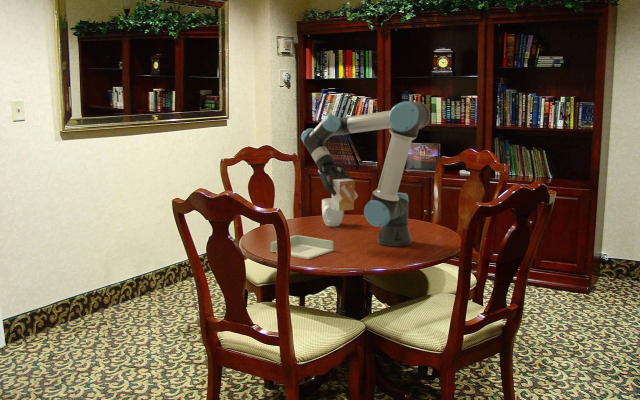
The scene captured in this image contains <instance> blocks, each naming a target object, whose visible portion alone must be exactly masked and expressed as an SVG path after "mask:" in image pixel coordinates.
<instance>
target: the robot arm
mask: <svg viewBox="0 0 640 400" xmlns="http://www.w3.org/2000/svg"><path fill="white" fill-rule="evenodd" d="M430 119H431V112H430V109H429V106H427V105H426V104H425V103H423V102H421V101H402V102H399V103H396V104H395V105H394V106H393V107H392V108H391V110H385V111H381V112H380V111H379V112H372V113H365V114H359V115H352V116H345V117H340V118H339V117H337V116H336V115H335V114H332V113H328V114H327V115H326V116H325V117H324V118H323V119H321V121H320V122H319V124H318V125H316V126H315V128H311V127H310V128H307V129H306V130H303V132H302V133H301V135H300V139H301V141H302V143H303V146H305V148H306V150H307V151H308V152H309V154H310V156H311V158H312V159H313V161H314V162H315V163H316V166H317V168H318V170H317V172H316V173H317V175H318V176H319V177H320V181H321V183H322V184H321V185H322V186H323V189H324V190H326V191H327V192H330V193H331V196H332V195H333V196H334V197H335V198H336V200H337V202H338V203H339V202H340V201H341V200H342V197H341V195H340V194H339V192H338V190H337V189H336V187H333V181H332V180H333V178H334V179H346V178H347V179H352V178H351V177H350V176H349V174H348V173H347V171H345V170H344V168H343V166H341V165H340V166H339V167H338V166H337V165H335V160H334V158H333V157H332V155H331V153H330V152H329V149H327V147H326V145H325V143H326V141H328V139H330V138H331V137H333V136H340V135H341V136H345V135H350V134H355V133H364V132H371V131H379V130H385V129H389V130H388V132H389V133H390V134H391V138H390V141H389V145H388V149H387V152H386V155H385V159H384V163H383V167H382V171H381V175H380V178H379V182H378V185H377V188H376V189H375V190H373V191H372V194H371V197H370V200H369V201H368V202H367V203H366V205H364V208H363V214H364V217H365V219H366V221H367V222H368V224H370V226H374V227H377V228H380V230H379V233H378V236H377V244H379V245H381V246H386V247H406V246H410V245H411V244H412V236H411V232H410V229H409V203H410V200H409V195H408V194H407V193H404V192H398V191H399V188H400V186H401V181H402V178H403V173H404V170H405V166H406V163H407V160H408V155H409V152H410V149H411V145H412V141H414V140H415V139H417V137H418V133H419V130H420V129H423V128H425V126H427V125H428V123H429V122H430ZM357 198H359V195H358V194H357V192H356V190H355V191H354V201H356V200H357Z"/></svg>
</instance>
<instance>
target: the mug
mask: <svg viewBox="0 0 640 400" xmlns="http://www.w3.org/2000/svg"><path fill="white" fill-rule="evenodd" d="M331 200H332V197H331V198H323V199H321V212H322V213H321V215H322V219H323V222H324V224H325V226H328V227H332V228H333V227H338V226H340V224H341V223H342V221H343V218H344V211H345V210H343V211H337V210H334V209H331Z"/></svg>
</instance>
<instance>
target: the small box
mask: <svg viewBox="0 0 640 400" xmlns="http://www.w3.org/2000/svg"><path fill="white" fill-rule="evenodd" d="M332 181H333V187H336V189H337V190H338V192H339V194H340V195H341V197H342V200H341V201H340V202H339V203H338V202H337V200H336V198H335V197H334V196H333V195H332V194H331V198H332V200H331V209H334V210H337V211H352V210H355V200H354V191H355V192H356V190H355V188H356V187H355V185H356V180H355V179H352V178H351V179H347V178H346V179H337V178H334V179H332Z"/></svg>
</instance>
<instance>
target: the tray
mask: <svg viewBox="0 0 640 400" xmlns="http://www.w3.org/2000/svg"><path fill="white" fill-rule="evenodd" d="M289 237H290V242H291V256H290V257H293V258H294V257H295V258H299V259H306V260H310V259H314V258H316V257H318V256H319V257H320V256H322V255H325V254H327V253H331V252H334V240H330V239H329V240H328V239H324V238H317V237H312V236H311V237H310V236H305V235H304V236H303V235H298V234H296V235H293V236H292V235H291V236H289ZM269 246H270V248H269V249H270V251H271V252H276V253H275V254H277V240H274V241H270V245H269ZM271 252H270V253H271Z"/></svg>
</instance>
